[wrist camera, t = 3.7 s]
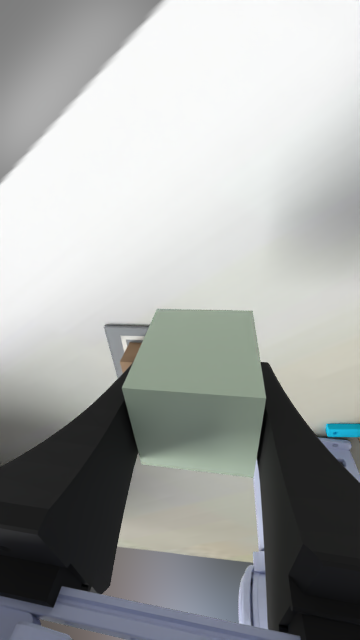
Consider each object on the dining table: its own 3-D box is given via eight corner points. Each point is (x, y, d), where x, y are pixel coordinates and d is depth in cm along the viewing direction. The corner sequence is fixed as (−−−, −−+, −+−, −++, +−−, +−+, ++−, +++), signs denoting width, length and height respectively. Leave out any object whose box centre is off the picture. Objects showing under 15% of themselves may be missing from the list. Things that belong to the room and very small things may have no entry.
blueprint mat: (223, 328, 21) (223, 331, 21) (221, 404, 26) (221, 407, 25) (105, 325, 22) (103, 327, 22) (124, 396, 27) (123, 399, 27)
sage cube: (252, 311, 12) (266, 398, 8) (245, 381, 14) (253, 477, 10) (157, 308, 12) (121, 387, 8) (165, 376, 15) (141, 464, 11)
